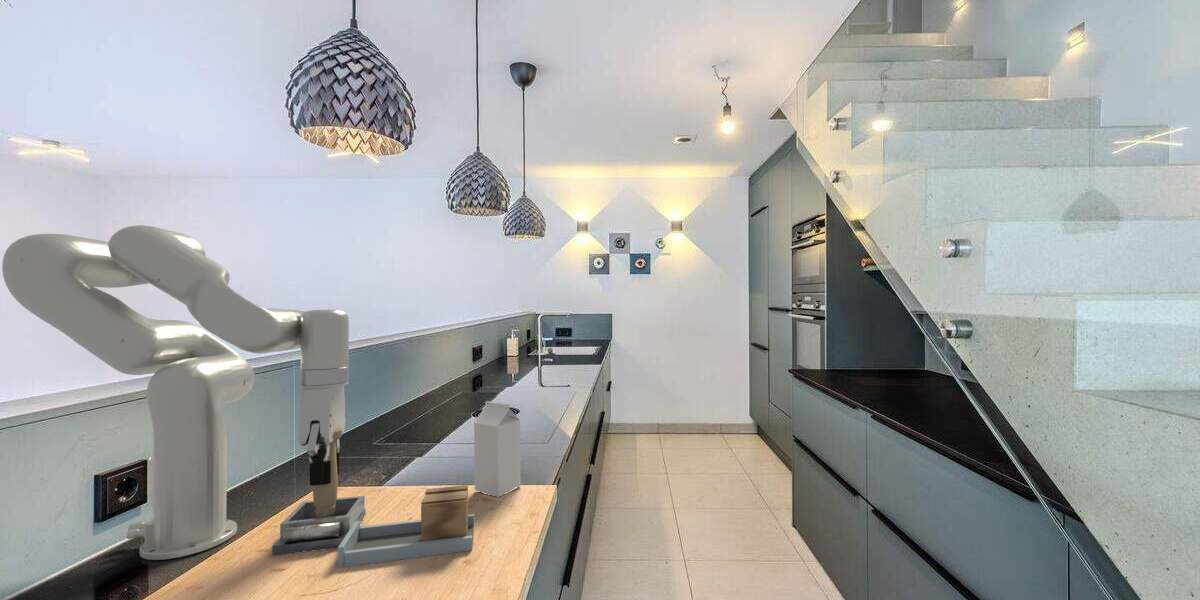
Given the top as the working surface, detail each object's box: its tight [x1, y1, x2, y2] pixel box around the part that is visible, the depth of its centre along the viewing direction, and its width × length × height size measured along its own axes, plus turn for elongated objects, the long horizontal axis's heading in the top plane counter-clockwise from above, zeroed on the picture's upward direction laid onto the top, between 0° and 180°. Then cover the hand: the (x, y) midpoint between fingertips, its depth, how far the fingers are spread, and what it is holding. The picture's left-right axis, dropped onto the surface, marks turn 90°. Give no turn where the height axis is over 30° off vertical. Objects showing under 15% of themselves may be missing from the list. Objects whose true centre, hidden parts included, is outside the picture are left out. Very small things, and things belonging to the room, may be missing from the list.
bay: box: [337, 513, 475, 568], centre depth 78 cm, size 20×9×3 cm, turn 103°
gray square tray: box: [271, 495, 367, 557], centre depth 82 cm, size 11×12×4 cm
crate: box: [420, 484, 469, 542], centre depth 79 cm, size 7×7×7 cm
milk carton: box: [473, 401, 522, 498], centre depth 102 cm, size 7×7×19 cm
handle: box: [312, 428, 343, 517], centre depth 84 cm, size 5×6×15 cm
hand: (325, 478), depth 83 cm, fingers closed on handle, 3 cm apart
